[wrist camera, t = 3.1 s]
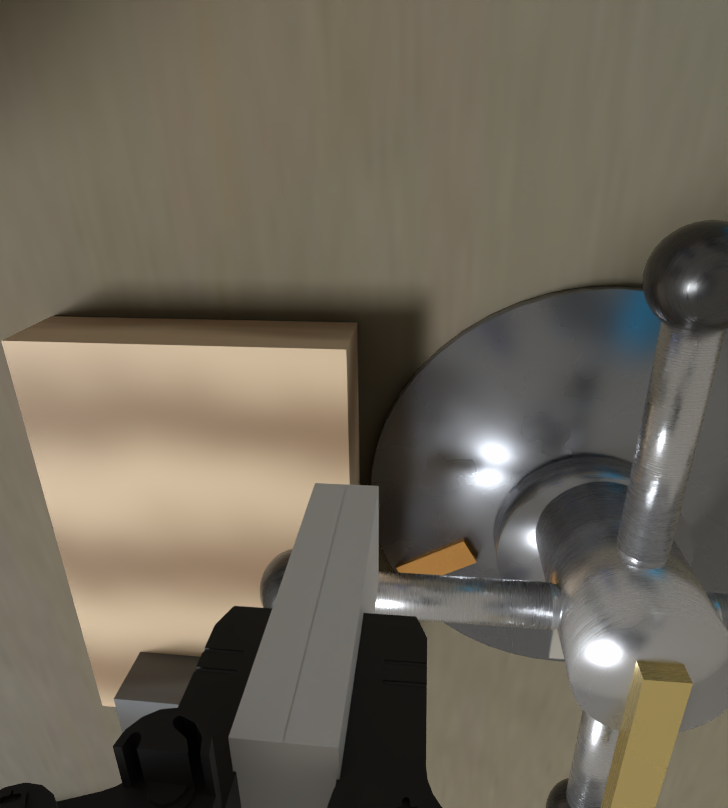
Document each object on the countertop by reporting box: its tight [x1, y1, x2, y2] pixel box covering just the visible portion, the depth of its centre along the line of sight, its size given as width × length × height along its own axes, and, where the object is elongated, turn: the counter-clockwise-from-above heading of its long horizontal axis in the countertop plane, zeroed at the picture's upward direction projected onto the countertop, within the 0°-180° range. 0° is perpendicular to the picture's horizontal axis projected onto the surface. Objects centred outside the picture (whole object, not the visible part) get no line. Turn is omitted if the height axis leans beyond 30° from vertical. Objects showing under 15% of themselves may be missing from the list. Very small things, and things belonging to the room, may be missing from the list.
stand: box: [2, 316, 360, 732], centre depth 24 cm, size 18×12×5 cm, turn 0°
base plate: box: [371, 286, 728, 661], centre depth 24 cm, size 17×17×1 cm
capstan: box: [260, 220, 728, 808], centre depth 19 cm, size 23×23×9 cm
